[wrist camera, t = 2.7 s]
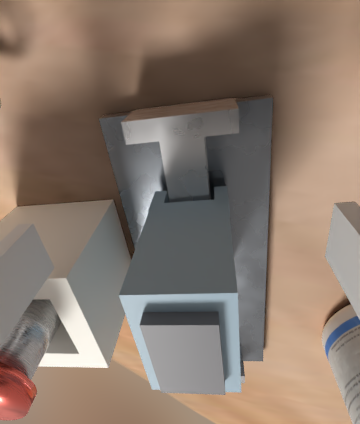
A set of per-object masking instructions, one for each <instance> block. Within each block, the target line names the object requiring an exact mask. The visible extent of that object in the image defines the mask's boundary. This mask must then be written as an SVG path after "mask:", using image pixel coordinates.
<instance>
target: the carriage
mask: <svg viewBox="0 0 360 424" xmlns="http://www.w3.org/2000/svg"><path fill="white" fill-rule="evenodd" d="M119 298H120V300H121V303H122V306H123V309H124V312H125V314H126V317H127V320H128V323H129V326H130V329H131V331H132V334H133V337H134V340H135V343H136V345H137V348H138V351H139V354H140V357H141V360H142V362H143V365H144V368H145V371H146V374H147V376H148V379H149V382H150V385H151V388H152V389H154V390H161V392H162V393H189V394H218V395H225V392H241V371H240V342H239V314H238V291H237V281H236V272H235V263H234V253H233V244H232V235H231V225H230V209H229V198H228V189H227V186H220V187H214V200H199V201H185V202H171V203H169V198H168V192H167V191H155V193H154V196H153V199H152V202H151V204H150V207H149V210H148V215H147V218H146V220H145V223H144V226H143V229H142V232H141V234H140V237H139V240H138V243H137V246H136V248H135V251H134V254H133V257H132V260H131V262H130V265H129V268H128V271H127V274H126V276H125V279H124V282H123V285H122V288H121V290H120V293H119Z"/></svg>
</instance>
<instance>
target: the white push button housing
mask: <svg viewBox="0 0 360 424" xmlns="http://www.w3.org/2000/svg"><path fill="white" fill-rule="evenodd" d="M32 223H33V224H34V226H35V228H36V230H37V232H38V234H39V236H40V238H41V240H42V243H43V245H44V247H45V249H46V251H47V253H48V255H49V257H50V259H51V261H52V263H53V265H54V270H53V271H52V272H51V274H50V275H49V277H48V278H47V280H46V281H45V283H44V284H43V286H42V287H41V289H40V290H39V292H38V293H37V294H36V296H35V297H34V299H33V300H38V299H50V301H51V303H52V304H53V306H54V308H55V310H56V312H57V314H58V315H59V317H60V319H61V321H62V322H61V324H60V326H59V327H58V329H57V331H56V333H55V335H54V337H53V339H52V341H51V343H50V345H49V346H48V348H47V350H46V352H45V354H44V356H43V358H42V360H41V362H40V364H39V365H38V366H49V367H98V368H101V367H102V368H108V367H109V365H110V361H111V358H112V355H113V352H114V348H115V345H116V342H117V339H118V336H119V332H120V329H121V326H122V323H123V319H124V316H125V312H124V309H123V306H122V303H121V300H120V298H119V293H120V290H121V288H122V285H123V282H124V279H125V276H126V274H127V271H128V268H129V265H130V262H131V258H130V254H129V251H128V247H127V244H126V241H125V237H124V234H123V230H122V227H121V223H120V220H119V217H118V213H117V210H116V206H115V203H114V200H100V201H87V202H73V203H59V204H46V205H32V206H19V207H16V208H14V209H13V210H12V211H11V212H10V213H9V214H7V215H6V216H5V217H4V218H3V219H2V220H0V242H1V241H2V240H3V239H4V238H5V237H6V236H7V235H8V234H9V233H10V232H11V231H12V230H13V229H14V228H15V227H16V226H17V225H18V224H32Z"/></svg>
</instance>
